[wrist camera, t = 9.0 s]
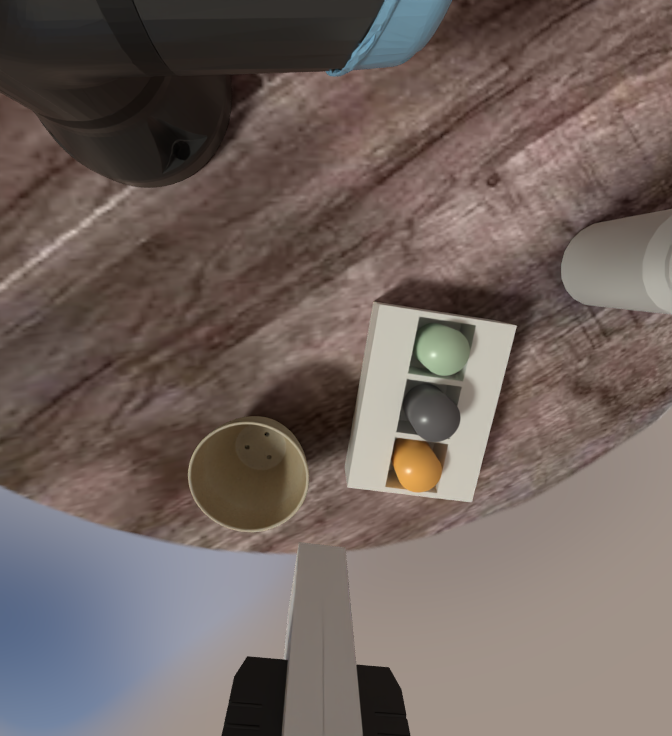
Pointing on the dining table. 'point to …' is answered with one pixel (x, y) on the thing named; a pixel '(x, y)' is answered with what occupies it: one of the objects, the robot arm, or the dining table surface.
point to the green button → (441, 349)
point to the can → (622, 263)
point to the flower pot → (249, 474)
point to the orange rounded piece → (415, 464)
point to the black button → (431, 412)
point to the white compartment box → (403, 372)
